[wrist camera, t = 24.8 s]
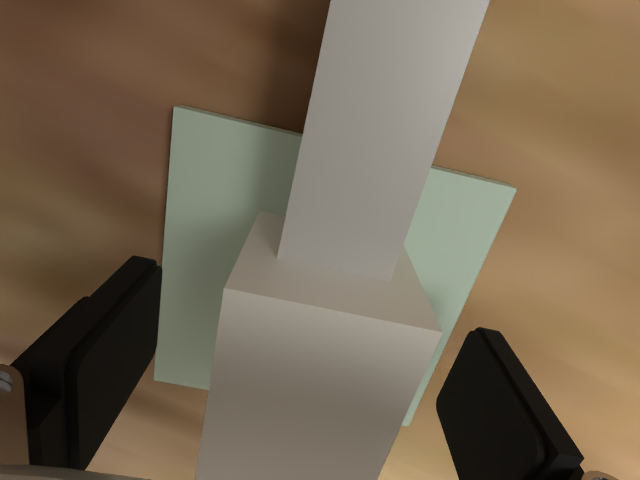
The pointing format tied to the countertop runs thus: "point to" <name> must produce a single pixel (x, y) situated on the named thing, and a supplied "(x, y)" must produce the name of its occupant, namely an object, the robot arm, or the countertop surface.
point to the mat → (273, 196)
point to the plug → (340, 258)
